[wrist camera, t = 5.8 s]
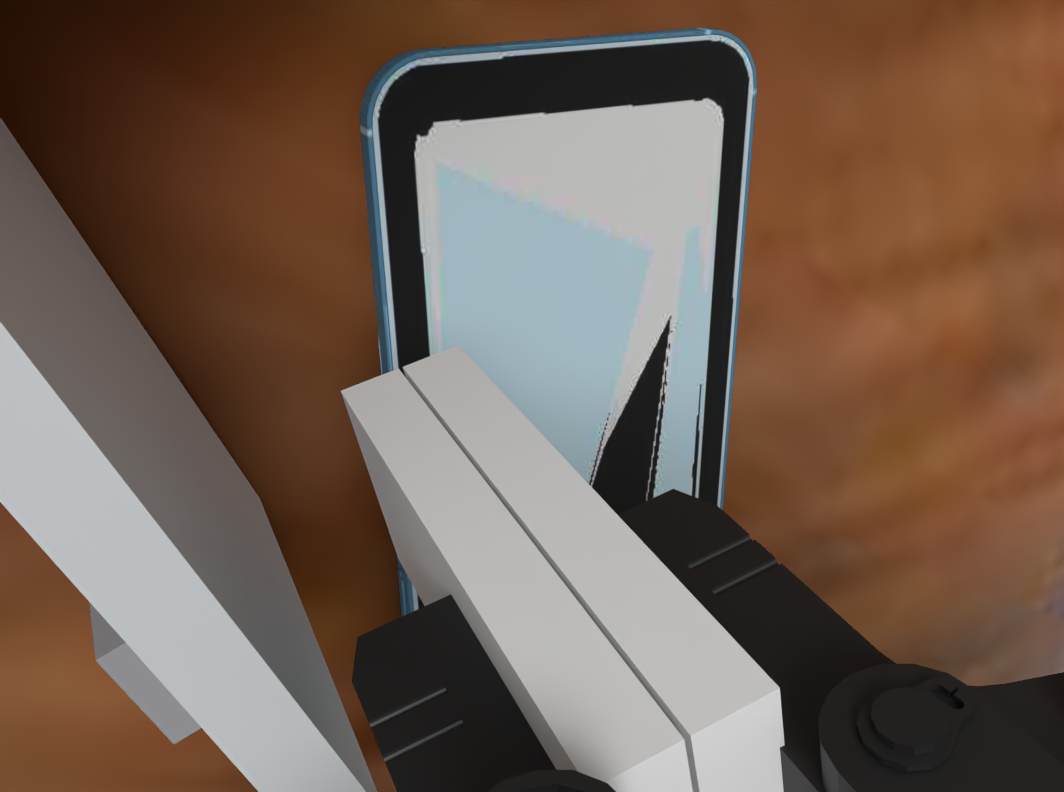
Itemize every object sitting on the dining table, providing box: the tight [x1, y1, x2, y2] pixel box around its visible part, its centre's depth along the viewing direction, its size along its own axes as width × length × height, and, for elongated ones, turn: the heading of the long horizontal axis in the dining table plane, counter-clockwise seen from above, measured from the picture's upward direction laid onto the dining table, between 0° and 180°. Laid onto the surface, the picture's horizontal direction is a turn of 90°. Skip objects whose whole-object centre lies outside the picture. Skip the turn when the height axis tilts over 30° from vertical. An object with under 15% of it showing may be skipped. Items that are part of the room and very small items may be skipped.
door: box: [0, 118, 377, 792], centre depth 11 cm, size 10×2×7 cm, turn 21°
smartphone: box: [360, 28, 757, 616], centre depth 20 cm, size 7×1×15 cm
